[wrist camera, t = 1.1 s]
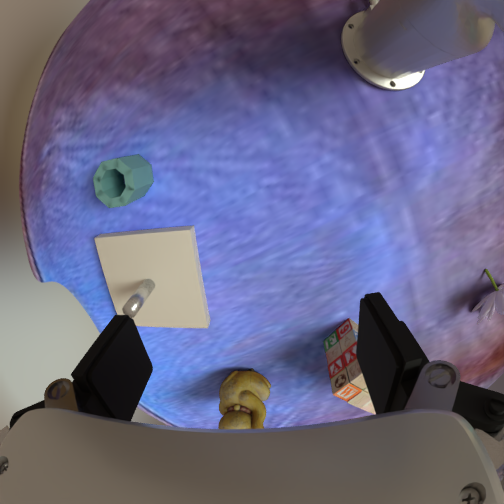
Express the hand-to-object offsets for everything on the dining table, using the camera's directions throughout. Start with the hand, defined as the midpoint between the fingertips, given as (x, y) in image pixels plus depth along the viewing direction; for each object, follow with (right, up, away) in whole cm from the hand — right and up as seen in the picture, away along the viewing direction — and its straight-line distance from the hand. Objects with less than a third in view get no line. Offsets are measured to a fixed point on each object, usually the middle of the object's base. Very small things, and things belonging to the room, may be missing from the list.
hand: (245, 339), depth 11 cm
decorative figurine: (-1, -20, +39) cm, 44 cm away
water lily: (+45, -4, +29) cm, 54 cm away
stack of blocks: (+22, -16, +36) cm, 45 cm away
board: (-15, -1, +32) cm, 35 cm away
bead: (-16, +14, +26) cm, 34 cm away
